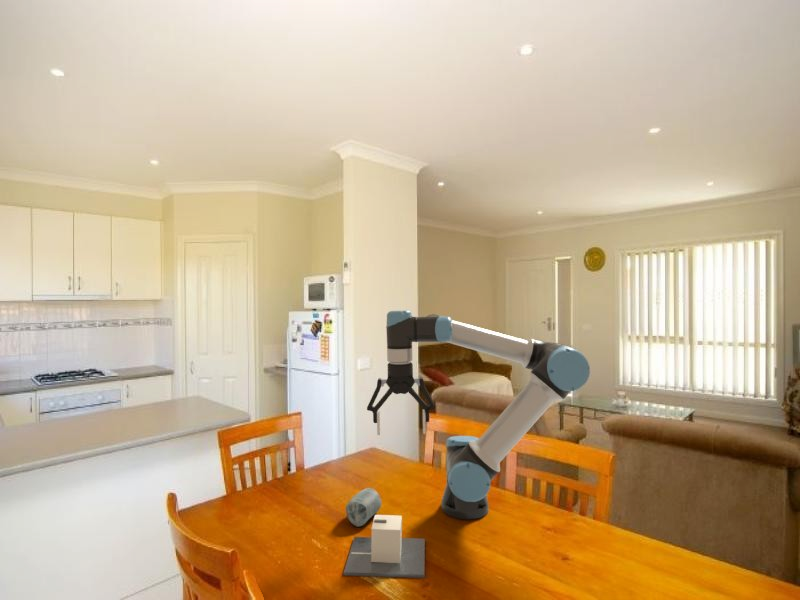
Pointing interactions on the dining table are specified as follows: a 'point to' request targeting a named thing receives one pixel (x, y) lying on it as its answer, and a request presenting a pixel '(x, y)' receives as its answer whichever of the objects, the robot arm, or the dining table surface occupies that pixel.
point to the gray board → (408, 566)
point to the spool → (363, 506)
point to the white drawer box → (386, 539)
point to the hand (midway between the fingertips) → (401, 433)
